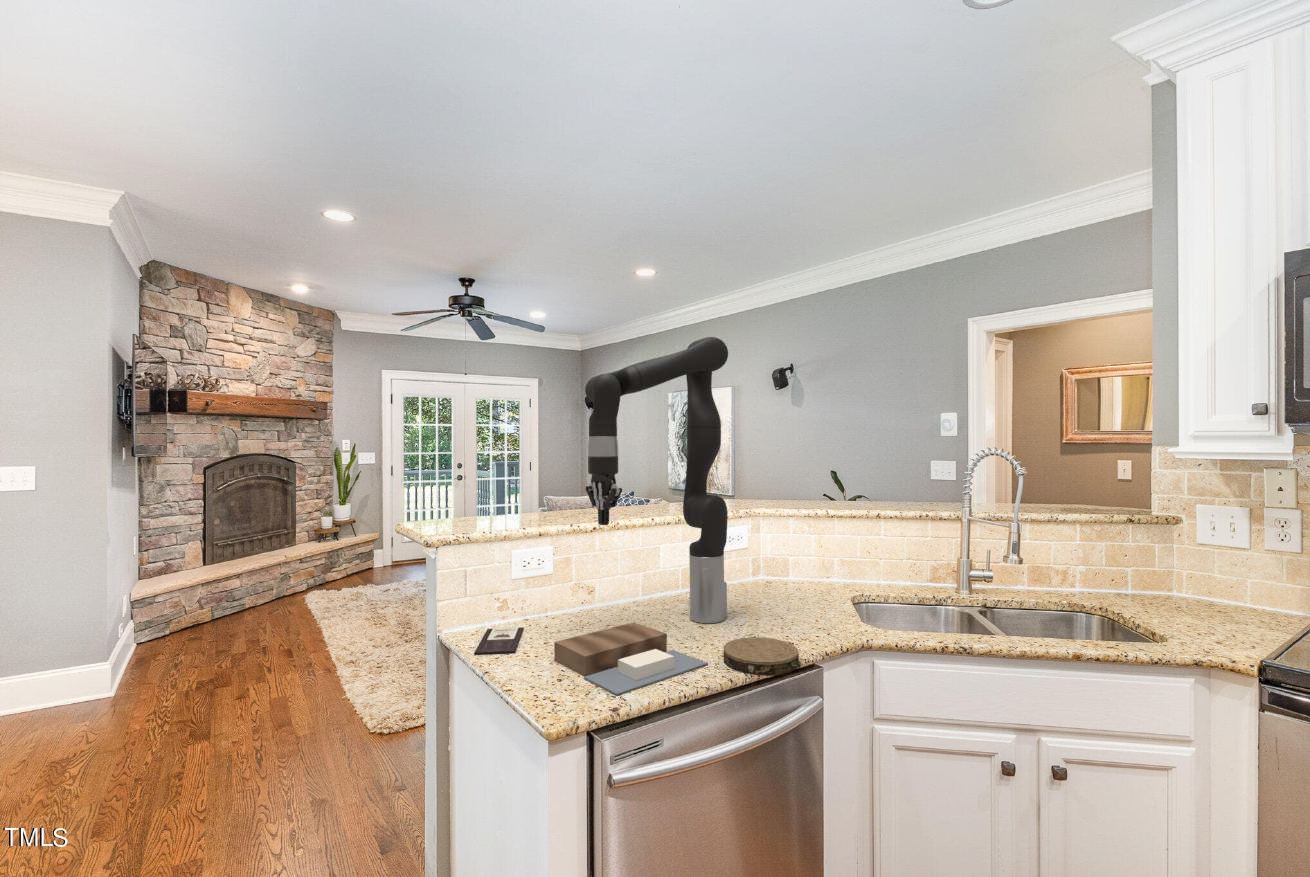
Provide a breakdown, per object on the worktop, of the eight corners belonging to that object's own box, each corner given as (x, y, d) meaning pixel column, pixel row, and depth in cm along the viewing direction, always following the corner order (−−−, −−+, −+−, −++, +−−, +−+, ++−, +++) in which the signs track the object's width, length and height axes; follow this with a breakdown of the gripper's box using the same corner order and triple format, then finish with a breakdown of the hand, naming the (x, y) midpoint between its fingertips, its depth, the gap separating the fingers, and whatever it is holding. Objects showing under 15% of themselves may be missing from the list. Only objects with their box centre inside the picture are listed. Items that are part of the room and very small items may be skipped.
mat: (673, 651, 137) (673, 649, 137) (707, 664, 129) (707, 663, 129) (583, 678, 121) (583, 676, 121) (616, 695, 113) (616, 693, 113)
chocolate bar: (474, 652, 136) (487, 628, 154) (474, 657, 136) (487, 632, 154) (515, 651, 137) (523, 627, 155) (515, 655, 137) (523, 631, 155)
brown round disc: (814, 664, 129) (813, 650, 129) (765, 683, 119) (764, 668, 119) (756, 645, 142) (756, 632, 142) (708, 661, 132) (708, 647, 132)
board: (633, 638, 146) (633, 622, 146) (666, 651, 137) (666, 633, 137) (554, 660, 132) (554, 641, 132) (585, 676, 123) (585, 656, 123)
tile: (674, 656, 126) (674, 668, 126) (655, 648, 130) (655, 660, 130) (635, 667, 119) (635, 680, 119) (617, 659, 124) (617, 671, 124)
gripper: (631, 454, 148) (631, 525, 148) (600, 454, 158) (600, 521, 158) (606, 455, 143) (606, 528, 143) (575, 455, 153) (576, 523, 153)
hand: (603, 524), depth 151 cm, fingers closed
